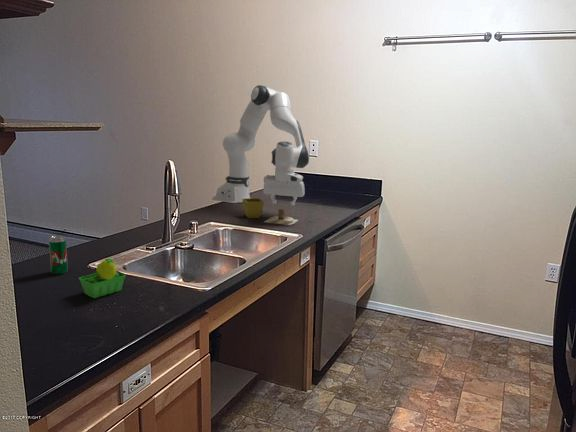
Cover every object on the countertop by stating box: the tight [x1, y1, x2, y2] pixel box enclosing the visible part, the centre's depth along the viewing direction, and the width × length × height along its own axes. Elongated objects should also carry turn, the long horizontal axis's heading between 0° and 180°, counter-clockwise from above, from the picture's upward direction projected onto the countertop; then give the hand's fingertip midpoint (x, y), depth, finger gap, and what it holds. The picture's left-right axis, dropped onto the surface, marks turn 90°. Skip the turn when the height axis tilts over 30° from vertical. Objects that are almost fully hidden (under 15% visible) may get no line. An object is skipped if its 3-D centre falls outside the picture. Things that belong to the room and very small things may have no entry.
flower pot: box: [242, 197, 265, 219], centre depth 244 cm, size 9×9×9 cm
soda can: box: [48, 235, 69, 276], centre depth 158 cm, size 5×5×12 cm
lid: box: [268, 208, 294, 225], centre depth 238 cm, size 12×12×6 cm
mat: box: [263, 218, 299, 226], centre depth 238 cm, size 14×12×1 cm
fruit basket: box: [78, 257, 126, 299], centre depth 144 cm, size 11×9×11 cm
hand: (283, 204), depth 236 cm, fingers open, 8 cm apart
